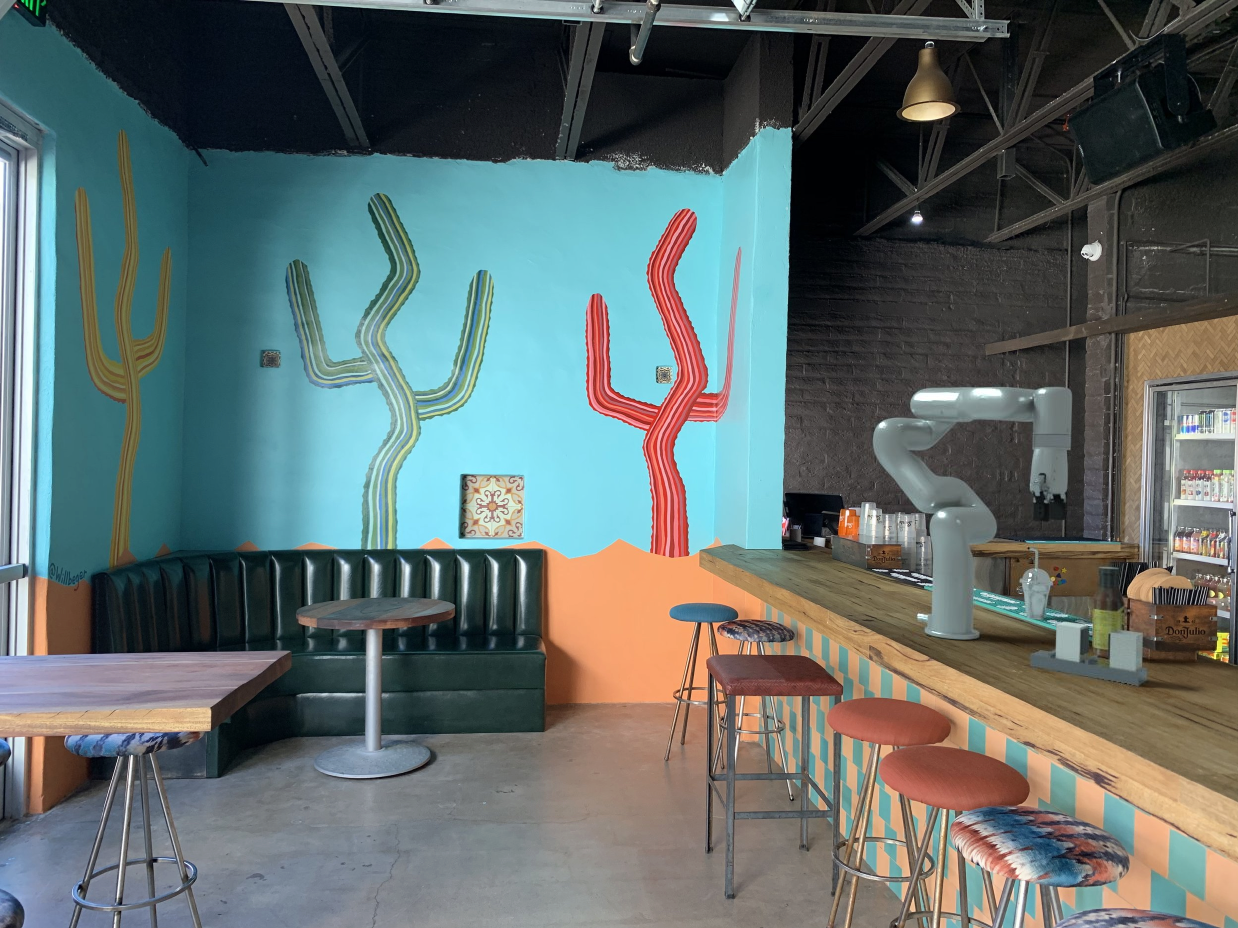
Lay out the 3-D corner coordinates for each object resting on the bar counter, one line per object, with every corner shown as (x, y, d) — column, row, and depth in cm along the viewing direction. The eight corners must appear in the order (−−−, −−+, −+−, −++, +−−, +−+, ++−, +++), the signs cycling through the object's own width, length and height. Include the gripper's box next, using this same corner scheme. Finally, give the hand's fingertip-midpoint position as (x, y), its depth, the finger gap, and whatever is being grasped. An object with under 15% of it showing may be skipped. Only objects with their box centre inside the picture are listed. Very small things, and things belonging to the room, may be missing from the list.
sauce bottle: (1128, 660, 184) (1131, 570, 184) (1097, 658, 185) (1100, 568, 185) (1117, 653, 191) (1119, 566, 190) (1087, 651, 192) (1089, 565, 192)
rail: (1030, 666, 177) (1031, 621, 177) (1040, 661, 181) (1041, 617, 181) (1138, 686, 163) (1139, 637, 163) (1146, 680, 167) (1148, 633, 167)
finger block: (1055, 657, 174) (1056, 624, 174) (1063, 654, 177) (1064, 621, 177) (1081, 662, 171) (1082, 628, 171) (1089, 659, 174) (1090, 625, 174)
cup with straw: (1059, 620, 229) (1061, 547, 229) (1031, 621, 227) (1033, 547, 227) (1037, 614, 238) (1039, 544, 237) (1009, 615, 235) (1011, 544, 235)
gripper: (1047, 444, 194) (1045, 517, 194) (1018, 442, 182) (1016, 520, 182) (1082, 444, 189) (1080, 520, 189) (1055, 442, 177) (1053, 523, 177)
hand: (1049, 520), depth 186 cm, fingers open, 9 cm apart
